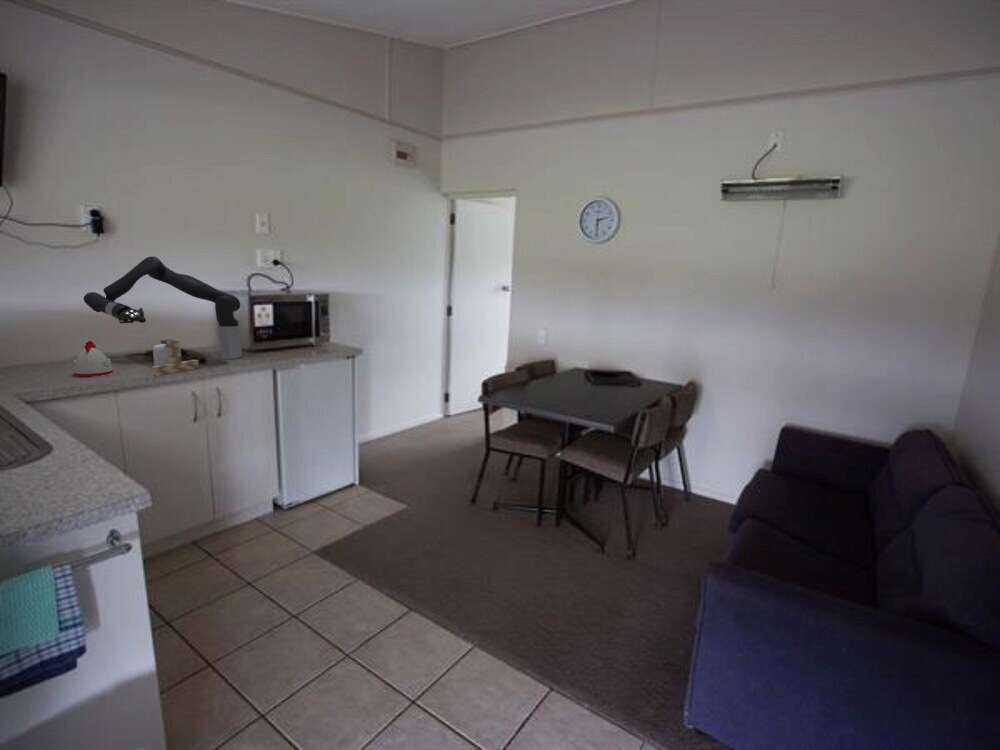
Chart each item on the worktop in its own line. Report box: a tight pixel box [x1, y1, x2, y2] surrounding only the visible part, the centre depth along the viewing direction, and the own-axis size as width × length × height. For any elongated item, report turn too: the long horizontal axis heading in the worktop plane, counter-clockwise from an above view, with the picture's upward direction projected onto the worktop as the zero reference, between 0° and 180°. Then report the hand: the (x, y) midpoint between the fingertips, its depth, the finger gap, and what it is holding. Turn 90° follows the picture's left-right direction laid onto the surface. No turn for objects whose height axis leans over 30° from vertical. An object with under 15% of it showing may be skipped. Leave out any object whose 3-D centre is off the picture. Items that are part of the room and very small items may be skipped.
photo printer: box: [152, 343, 168, 366], centre depth 246 cm, size 10×4×12 cm, turn 87°
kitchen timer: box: [73, 340, 114, 378], centre depth 233 cm, size 14×14×15 cm
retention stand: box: [152, 338, 200, 377], centre depth 244 cm, size 20×7×14 cm, turn 155°
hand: (144, 320), depth 254 cm, fingers closed
